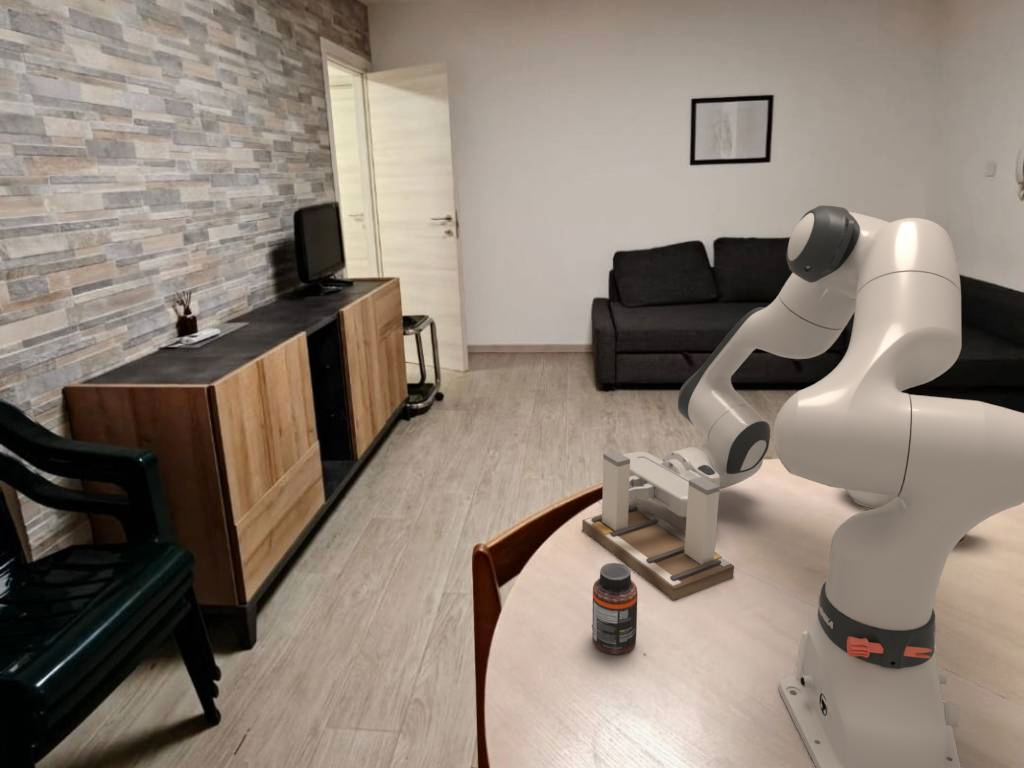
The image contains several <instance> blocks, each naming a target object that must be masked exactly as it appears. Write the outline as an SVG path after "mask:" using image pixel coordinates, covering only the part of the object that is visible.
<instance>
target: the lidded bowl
mask: <svg viewBox="0 0 1024 768" xmlns="http://www.w3.org/2000/svg"><path fill="white" fill-rule="evenodd" d="M844 490H845V492H846V493H847V494H848V495H849V496H850V499H851V500H852V501H853V502H854V503H856V504H857V505H858V506H861V507H865V508H868V509H871V510H872V509H876V508H879V507H881V506H884V505H886V504H887V503H889V502H890V501H892V500H893V499H894V498H896V497H897V496H891V495H884V494H877V493H870V492H863V491H856V490H849V489H844Z"/></svg>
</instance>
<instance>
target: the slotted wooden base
mask: <svg viewBox="0 0 1024 768" xmlns="http://www.w3.org/2000/svg"><path fill="white" fill-rule="evenodd" d="M581 522H582V524H581V526H582V529H581V530H582V531H583V532H584V533H585V534H587V535H588V536H589V537H591V538H592V539H593V540H595V542H597V543H598V544H599V545H600V546H602V547H603V548H605V549H606V550H607V551H609V553H611V554H613V555H614V557H616V558H618V559H619V560H620V561H621V562H623V563H624V564H626V566H627V567H628V568H629V567H630V568H631V569H632V570H633V571H635V572H636V573H637V574H638V575H640V576H641V577H642V578H644V579H645V580H646V581H648V582H649V583H650V584H651V585H652V586H654V587H655V588H656V589H658V590H659V591H661V592H662V593H663V594H665V595H666V596H667V597H669V598H670V599H671V600H672V601H675V600H678V599H681V598H683V597H686V596H688V595H691V594H694V593H696V592H697V593H698V592H699V591H701V590H703V589H706V588H708V587H713V585H717V584H720V583H721V582H724V581H727V580H730V579H731V578H734V573H735V565H734V564H732V563H731V562H729V561H727V560H726V559H725V558H723V557H722V555H720V554H719V553H717V552H716V551H715V553H714V560H713V561H711V562H708V563H705V564H703V565H701V564H700V563H698V562H697V561H695V560H694V559H692V558H691V557H689V556H688V555H687V554H685V553H684V550H685V534H686V533H684V532H682V531H681V530H680V529H678V528H676V527H675V526H674V525H671V524H670V523H668V522H667V521H665V520H664V519H662V518H661V517H659V516H658V515H656V514H655V513H653V512H651V511H650V510H648V509H647V508H645V507H644V506H642V505H641V504H640V503H634V504H630V505H629V507H628V527H627V528H624V529H621V530H618V531H614V530H613V529H611V528H610V527H609V526H607V525H606V524H604V523H603V522H602V513H601V514H598V515H594V516H591V517H588V518H586V519H584V518H583V519H582V521H581Z"/></svg>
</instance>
